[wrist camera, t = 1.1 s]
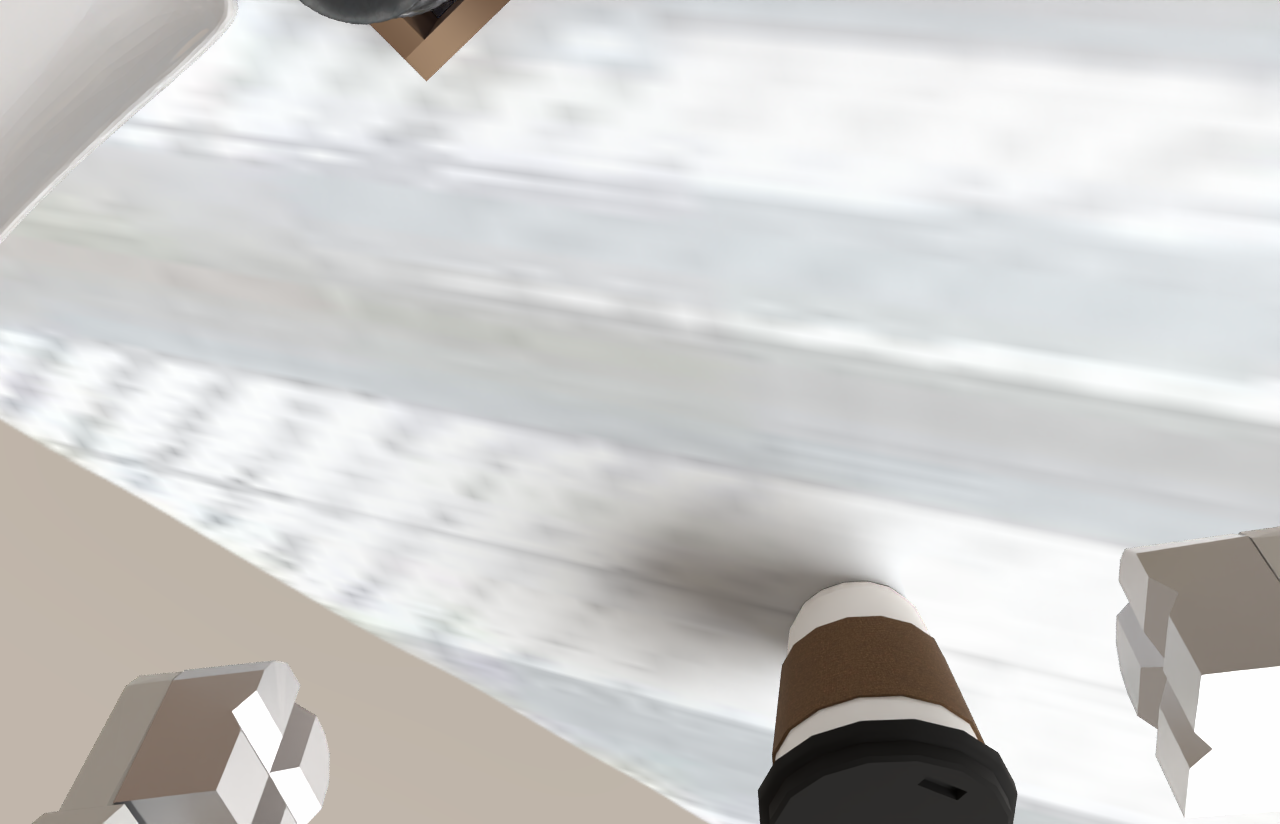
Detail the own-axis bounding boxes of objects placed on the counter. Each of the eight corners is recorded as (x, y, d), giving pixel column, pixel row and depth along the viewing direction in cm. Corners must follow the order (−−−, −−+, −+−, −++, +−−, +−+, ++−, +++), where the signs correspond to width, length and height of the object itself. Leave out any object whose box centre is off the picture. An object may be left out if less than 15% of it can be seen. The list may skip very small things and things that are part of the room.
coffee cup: (823, 511, 52) (855, 716, 42) (1010, 595, 55) (1081, 807, 45) (706, 651, 58) (710, 860, 48) (881, 721, 60) (918, 933, 50)
